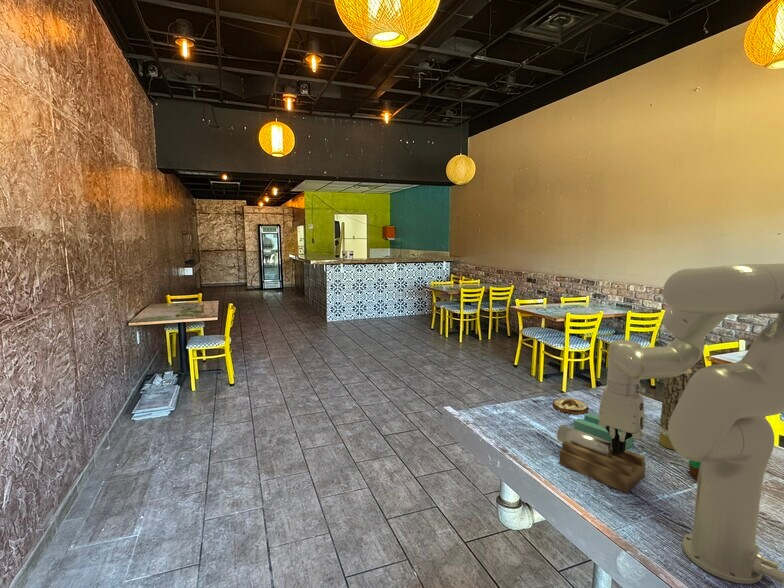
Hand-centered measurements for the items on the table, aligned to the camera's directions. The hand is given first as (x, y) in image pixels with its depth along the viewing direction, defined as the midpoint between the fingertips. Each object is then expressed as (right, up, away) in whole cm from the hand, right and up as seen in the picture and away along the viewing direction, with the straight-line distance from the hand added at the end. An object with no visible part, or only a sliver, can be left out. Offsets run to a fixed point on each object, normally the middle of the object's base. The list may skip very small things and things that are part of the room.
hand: (618, 452), depth 111 cm
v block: (+6, -4, +20) cm, 21 cm away
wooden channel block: (-3, -6, +4) cm, 8 cm away
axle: (-6, -2, +7) cm, 9 cm away
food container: (+23, -7, +1) cm, 24 cm away
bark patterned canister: (+26, -5, +17) cm, 32 cm away
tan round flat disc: (+7, -2, +47) cm, 47 cm away
